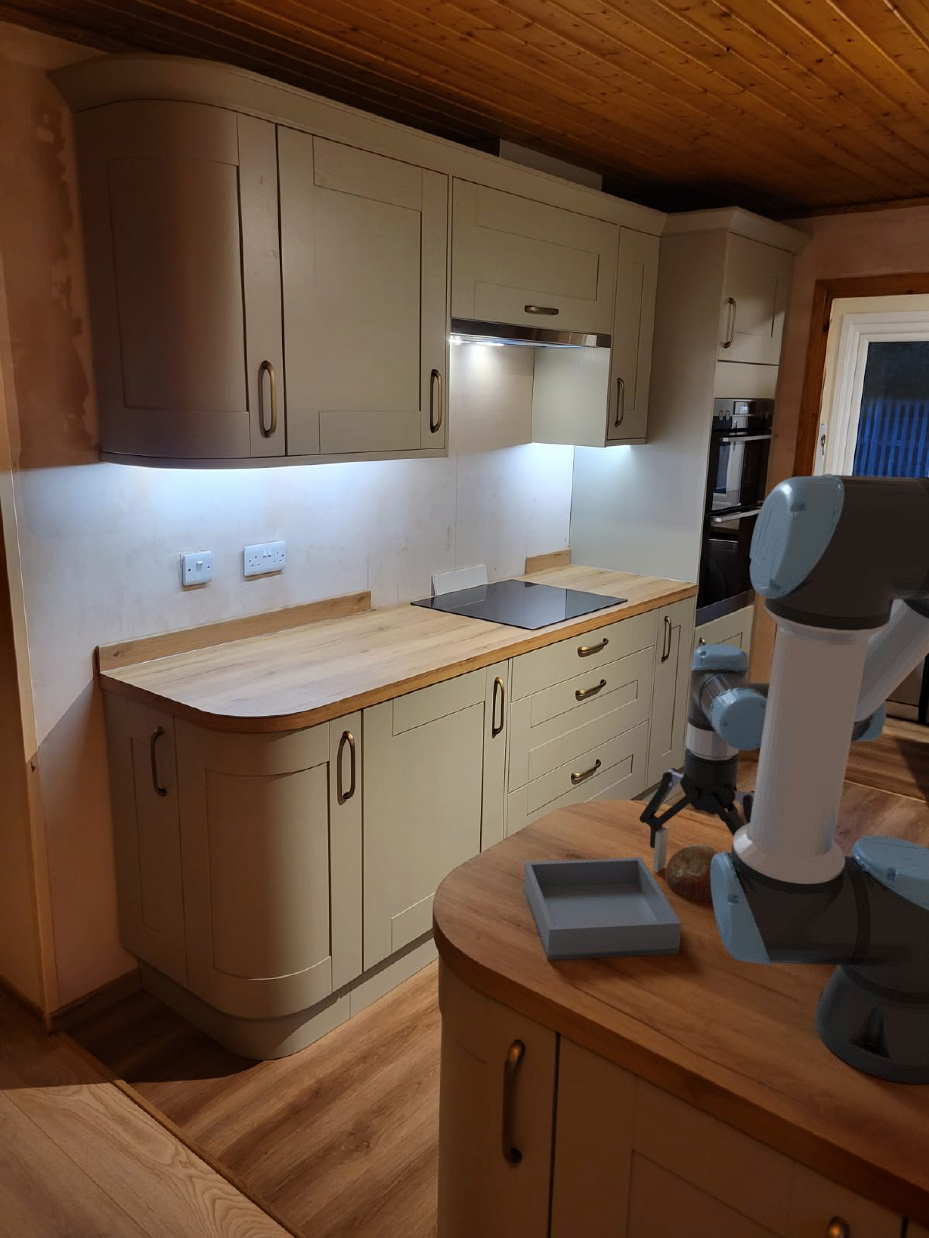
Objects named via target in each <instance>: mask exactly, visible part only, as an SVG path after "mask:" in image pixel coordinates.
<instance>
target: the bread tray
mask: <svg viewBox="0 0 929 1238" xmlns="http://www.w3.org/2000/svg"><path fill="white" fill-rule="evenodd" d="M523 870H524V871H523V872H524V873H523V892H524V895H525V898H526V901H527V903H528V907H529V910H530V913H531V915H532V918H533V922H534V925H535V928H536V931H537V934H538V936H539V939H540V942H541V946H542V948H543V951H544V954H545V956H546V960H547V961H563V960H564V961H567V960H568V961H569V960H581V959H582V960H583V959H584V960H585V959H601V958H602V959H603V958H604V959H605V958H619V957H624V958H625V957H636V956H637V957H639V956H640V957H641V956H656V955H657V956H659V955H677V954H680V944H681V932H682V931H681V930H682V922H681V921H680V918H679V917H678V915H677V914H676V912H675V910H674V909H673V907H672V906H671V903H670V902H669V901H668V899H667V897H666V895H665V894H664V892H663V891H662V889H661V887H660V886H659V883H658V882H657V881H656V879H655V878H654V876H653V874H652V873H651V871H650V869H649V868H648V866H647V864H646V863H645V862H644V860H643V858H642V856H641V857H622V858H621V857H619V858H618V857H617V858H616V857H615V858H598V859H597V858H595V859H591V858H590V859H575V860H574V859H572V860H571V859H570V860H569V859H568V860H567V859H566V860H549V861H547V860H546V861H525V862H524V869H523Z"/></svg>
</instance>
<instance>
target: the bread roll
mask: <svg viewBox="0 0 929 1238" xmlns="http://www.w3.org/2000/svg"><path fill="white" fill-rule="evenodd" d="M718 853H720V852H719V851H718V850H716V849H715V848H714V847H712V846H710V845H709V844H704V843H698V844H692V845H688V846H685V847H683V848H682V849H680V850H679V851H676V852H675V853H674V854H673V855H672V856H671V857H670V859H669V860H668V862H667V863H666V866H665V867H666V868H665V871H664V872H665V875H664V877H665V880H666V884H667V885H668V887H669V888H670V890H671V891H673V892H674V893H676V894H677V895H679V896H681V897H684V898H687V897H688V899H692V900H696V901H700V900H701V901H700V902H713V900H712V892H711V880H710V868H711V861H712V859H713V857H714V855H715V854H718Z"/></svg>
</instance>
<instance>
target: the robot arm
mask: <svg viewBox="0 0 929 1238" xmlns="http://www.w3.org/2000/svg"><path fill="white" fill-rule="evenodd" d="M749 558H750V560H751V561H750V566H749V575H750V581H751V584H752V587H753V590H755V592H756V593H757V594H758V595H760V596H762V597H765V599H764V610H765V611H766V612H767V614H769V616H770V617H771V618H772V619H773V620H774V621H775V623H776V625H777V628H776V634H775V643H774V650H773V656H772V662H771V671H770V677H769V682H750V680H749V679H748V678H747V677H748V675H747V674H748V672H749V670H750V669H749V667H748V666H749V665H748V664H749V660H748V659H749V658H748V654H747V652H746V651H745V650H744V649H742V648H740V647H737V646H733V645H728V644H720V643H718V644H716V643H715V644H705V645H703V644H702V645H700V646H698V647H697V648H696V649H695V650H694V652H693V658H692V665H691V668H690V673H691V677H690V687H689V688H690V693H689V704H688V718H687V729H686V738H685V747H686V749H685V751H684V752H685V753H684V761H683V774H681V773H679V772H678V771H677V769H676V768H673V767H672V768H670V769H668V770H667V771H665V772H664V773H663V774H662V777H661V781H660V786H659V787H658V788H657V791H656V792H655V794H654V795H653V797H652V798H651V800H650V801H649V802H648V804H647V805H646V807H645V809H644V810H643V812H641V814H640V816H639V821H640V822H641V823H642V824H646V825H648V826H649V828H650V834H649V835H650V836H649V847H650V848H652V849H654V854H653V865H652V866H653V867H652V868H653V869H652V871H653V872H656V873H659V872H660V871H661V870H662V869H663V868H664V867H666V866H667V863H666V861H667V851H668V837H669V836H668V835H669V827H668V826H666V825H664V824H666V823H667V822H668V821H669V820H670V819H672V818H673V817H674V816H676V815H677V814H678V813H680V812H681V811H682V810H683V809H684V808H686V807H687V806H688V805H689V804H690V806H692V807H693V808H694V809H693V810H696V811H702V812H705V813H707V814H709V815H712V816H715V815H717V816H718V817H719V819H720V820H721V822H723V823H724V824H725V825H726V827H727V828H728V830H729V832H730V833H731V835H732V836H733V838H732V843H731V845H732V846H731V852H730V853H729V852H727V851H724V850H722V852H719V853H718V854H715V855H714V857H713V859H712V861H711V868H710V880H711V892H712V900H713V901H712V906H713V910H714V915H715V921H716V925H717V930H718V932H719V936H720V938H721V942H722V944H723V946H724V947H725V949H726V952H728V954H729V956H731V957H732V958H733V959H735V960H737V961H739V962H744V963H757V964H765V966H771V964H786V965H787V964H789V965H792V964H793V965H795V964H796V965H829V966H831V965H833V966H836V967H835V969H834V970H833V973H832V974H831V976H830V978H829V980H828V981H827V983H826V986H825V988H824V989H823V991H822V992H821V993H820V994H819V996H818V999H817V1002H816V1009H815V1017H814V1022H815V1023H814V1025H815V1029H816V1032H817V1035H819V1037H820V1039H821V1041H822V1043H824V1045H825V1046H826V1047H827V1048H828V1049H829V1050H830V1051H831V1052H832V1053H834V1054H835V1055H836V1056H837V1057H838V1058H840V1059H841V1060H842V1061H844V1062H846V1063H847V1064H848V1065H850V1066H852V1067H854V1068H856V1069H857V1070H860V1071H862V1072H863V1073H866V1074H869V1075H872V1076H873V1077H876V1078H880V1079H883V1080H887V1081H890V1082H891V1081H892V1082H895V1083H896V1082H897V1083H899V1084H900V1083H901V1084H902V1083H903V1084H909V1085H910V1084H911V1085H912V1084H914V1085H919V1084H921V1085H923V1084H929V848H927V847H924V846H922V845H919V844H917V843H915V842H911V841H909V840H905V839H901V838H896V837H891V836H885V835H866V836H864V837H862V838H859V839H857V840H856V841H855V842H854V845H853V846H852V847H851V855H844V852H843V850H842V849H841V847H840V846H839V845H838V843H836V842H835V840H834V839H835V833H836V827H837V823H838V822H837V821H838V816H839V810H840V806H841V805H840V804H841V799H842V793H843V787H844V783H845V777H846V769H847V765H848V759H849V752H850V747H851V744H853V743H856V742H873V741H875V740H876V739H878V738H879V737H880V736H881V735H882V734H883V731H884V728H883V727H884V726H885V724H886V721H887V707H886V702H885V701H886V700H887V699H888V698H889V696H891V694H892V693H894V691H895V690H896V689H897V688H898V687H899V686H900V684H902V682H904V680H905V679H906V678H907V677H908V676H909V675H910V674H911V672H913V670H914V669H916V667H917V666H918V665H919V664H920V663H921V662H922V661H923V660H924V659H925V657H927V655H928V654H929V476H922V477H903V476H902V477H901V476H874V475H873V476H872V475H849V474H848V475H847V474H846V475H845V474H843V475H842V474H841V475H839V474H832V473H826V474H823V475H811V476H808V475H807V476H793V477H789V478H787V479H784V480H783V481H781V482H779V483H778V484H777V485H776V486H775V487H774V488H773V489H772V490H771V492H770V493H769V495H768V496H767V497H766V499H765V500H764V502H763V504H762V506H761V508H760V510H759V513H758V515H757V518H756V521H755V525H754V529H753V533H752V538H751V544H750V550H749ZM759 748H760V750H759V756H758V757H759V758H758V761H757V762H758V763H757V772H756V777H755V785H754V790H750V791H749V792H746V791H741V790H739V789H738V788H737V778H738V769H739V754H738V753H740V751H754V750H757V749H759ZM679 784H680V787H681V788H682V790H683V793H684V796H683V797H682V798H681V799H679V800H678V801H677V802H676V803H674V804H673V805H672V806H670V808H668V809H667V810H666V811H665V812H663V813H662V814H660V815H659V816H656V814H657V812H658V810H659V809H660V807H661V806H662V804H664V801H666V800H665V799H667V797H668V796H669V794H670V792H671V791H672V789H673V788H674V787H676V786H678V785H679ZM735 800H736V801H738V803H739V807H740V808H742V811H743V815H744V818H745V821H746V824H745V822H744V821H743V820H742V817H741V816H740V815H739V810H738V808H737V806H736V805H735V803H734V801H735Z"/></svg>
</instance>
